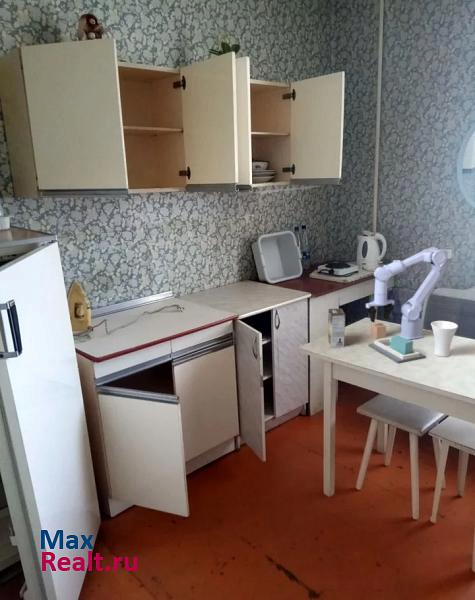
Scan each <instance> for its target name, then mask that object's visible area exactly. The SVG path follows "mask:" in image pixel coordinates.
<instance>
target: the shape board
mask: <svg viewBox="0 0 475 600" xmlns="http://www.w3.org/2000/svg"><path fill="white" fill-rule="evenodd" d="M391 338H392V337H387V338H386V337H385V338H380V339H375V340H373V343H368V347H369V348H371V349H372V350H375V351H376V352H378V353H379V354H382V355H383V356H384V357H387V358H388V359H390V360H392V361H393V362H395V363H397V364H403V363H408V362H411V361H417V360H421V359H422V360H423V359H426V358H427V357H426V355H425V354H423V353H421V352H419V351H417V350H415V349H414V348H413V349H412V354H407V355H402V354H401V353H399V352H397V351H395V350H393V349H392V348H390V347H391Z"/></svg>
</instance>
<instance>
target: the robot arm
mask: <svg viewBox="0 0 475 600" xmlns="http://www.w3.org/2000/svg"><path fill="white" fill-rule="evenodd" d="M448 260H449V259H448V256H447V253H446V252H445V251H444V250H443V249H440V248H438V247H436V246H430V247H428V248H424V249H423V250H421V251H419V252H418V253H415V254H413V255H412V256H409V257H407V258H405V259H404V260H399V259H397V260H396V259H394V260H393V261H392V262H390V263H388V264H383V266H379V267H377V268H376V269H375V270H374V272H373V277H375V279H374V280H375V281H374V291H373V292H374V293H373V294H374V295H373V297H374V298H373V301H370V302H367V303H365V308H366V311H367V312H368V315H369V319H370V322H371V323H375V322H376V321H375V320H376V315H377V311H378V309H377V307H383V319H384V320H385V321H388V320H389V318H390V314H391V313H392V312H393V309H395V300H394V299H388V285H389V284H388V282H389V280H390V278H392V277H393V276H396V275H398V274H401V273H403V272H405V270H406V268H408V267H411V266H413V265H415V264H418V263H421V262H427V263H430V267H431V270H430V271H429V273H428V274H427V276H426V278H425V279H424V280H423V282H422V283H421V285H420V286H419V288H417V290H416V292H415V293H414V295H413V296H412V297H411V298H409V299H408V300H407V301H406V302H405V303H403V304H402V305H401V307H400V312H401V314H402V316H401V324H400V325H401V326H400V332H399V333H396V336H400V337H402V338H405V339H408V340H411V341H412V340H415V339H421V338H424V335H423V331H424V330H423V329H424V322H423V320H422V318H421V317H420V315H421V312H422V311H423V305H424V302H425V301H426V300H427V299H428V297H429V295H431V292H432V291H433V289H434V288H435V287H436V286H437V284H438V283H439V282H440V280H441V278H442V277H443V275H444V274H445V272H446V269H447V268H446V267H447V261H448Z"/></svg>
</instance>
